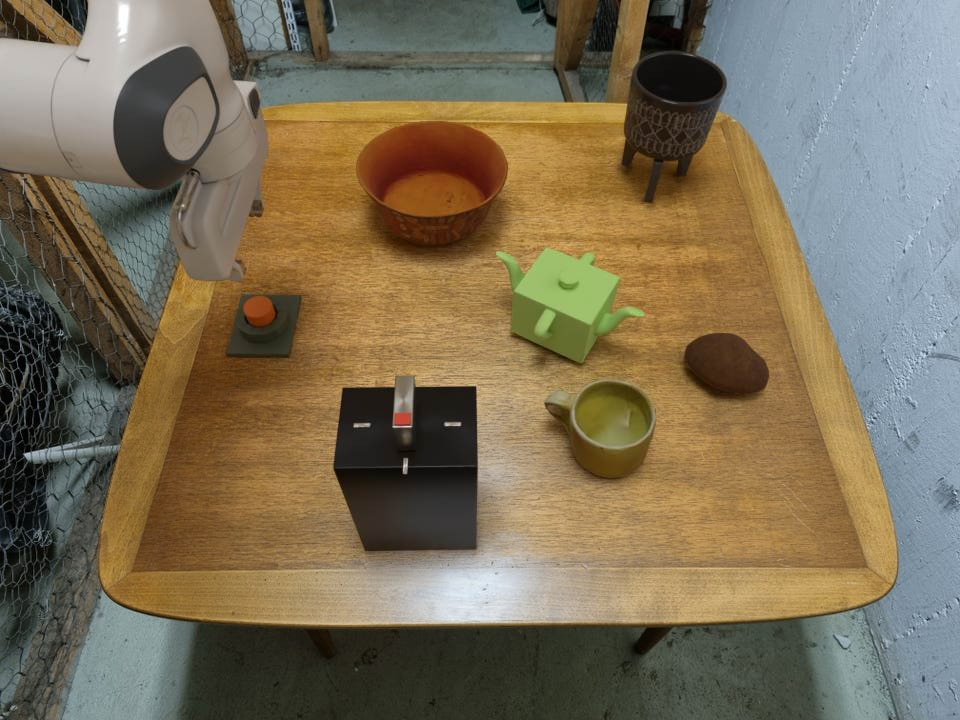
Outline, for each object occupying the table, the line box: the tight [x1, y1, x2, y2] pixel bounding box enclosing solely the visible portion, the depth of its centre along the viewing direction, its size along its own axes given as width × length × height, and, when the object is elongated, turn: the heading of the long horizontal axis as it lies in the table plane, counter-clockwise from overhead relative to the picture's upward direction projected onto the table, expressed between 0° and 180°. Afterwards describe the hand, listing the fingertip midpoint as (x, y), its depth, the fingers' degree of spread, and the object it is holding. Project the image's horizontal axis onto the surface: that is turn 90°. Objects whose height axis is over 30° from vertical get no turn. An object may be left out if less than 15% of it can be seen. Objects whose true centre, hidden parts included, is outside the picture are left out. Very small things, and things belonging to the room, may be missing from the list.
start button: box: [243, 296, 276, 327], centre depth 87 cm, size 4×4×2 cm
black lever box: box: [332, 385, 479, 552], centre depth 66 cm, size 12×9×20 cm
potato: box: [684, 332, 770, 395], centre depth 82 cm, size 7×10×7 cm
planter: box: [620, 50, 728, 204], centre depth 100 cm, size 13×13×18 cm
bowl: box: [355, 120, 509, 246], centre depth 98 cm, size 21×21×10 cm
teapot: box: [495, 246, 646, 365], centre depth 85 cm, size 15×13×11 cm
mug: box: [543, 378, 657, 479], centre depth 77 cm, size 12×10×10 cm
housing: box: [225, 293, 303, 358], centre depth 88 cm, size 10×8×2 cm
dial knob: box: [392, 374, 418, 451], centre depth 56 cm, size 5×2×4 cm, turn 1°
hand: (247, 243), depth 73 cm, fingers open, 8 cm apart
